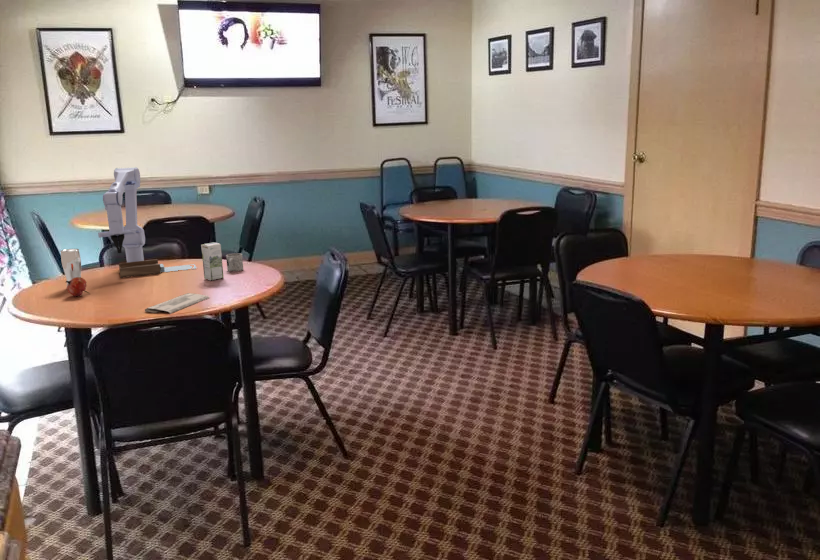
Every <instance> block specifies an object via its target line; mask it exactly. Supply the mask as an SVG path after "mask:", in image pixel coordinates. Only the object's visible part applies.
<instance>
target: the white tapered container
mask: <svg viewBox="0 0 820 560" xmlns="http://www.w3.org/2000/svg"><path fill="white" fill-rule="evenodd" d="M60 258H61V259H60V260H61V261H60V262H61V265H62V268H63V272H64V275H65V277H66V278H65V279H66V281H70V280H72V279H73V278H75V277H81V278H82V259H81V253H80V249H79V248H69V249H63V250H60ZM67 285H68V283H67V282H66V286H67Z"/></svg>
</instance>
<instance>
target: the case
mask: <svg viewBox="0 0 820 560" xmlns="http://www.w3.org/2000/svg"><path fill="white" fill-rule="evenodd" d="M158 260H159V259H157V258H156V259H147V260H145V259H144V261H136V262H127V261H126V262H120V263H118V268H119V275H120V279H122V278H123V277H125V278H131V276H133V277H141V276H140V275H142V276H149V274H151V275H159V274H158V273H160V274H162V273H161V271H160V264H161V263H159V261H158ZM123 279H124V278H123Z"/></svg>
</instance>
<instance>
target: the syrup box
mask: <svg viewBox="0 0 820 560" xmlns="http://www.w3.org/2000/svg"><path fill="white" fill-rule="evenodd" d="M200 247H201V256H202V257H201V258H202V267H203V277H204V280H206V279H208V280H207V281H211V280H212V281H217V280H216V279H218V280H221V278H223V279H224V268H223V267H224V266H223V254H222V244H221V243H218V242H209V243H204V244H200Z"/></svg>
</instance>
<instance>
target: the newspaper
mask: <svg viewBox="0 0 820 560" xmlns="http://www.w3.org/2000/svg"><path fill="white" fill-rule="evenodd" d="M209 297H210V296H209V295H205V294H200V293H190V292H189V293H185V294H181V295H179V296H176V297H174V298H171V299H169V300H165V301H163V302H161V303H157V304H155V305H152V306H149V307H146V308H145V309H144V312H146V313H148V312H150V313H154V314H155V313H157V314H158V313H159V312H161V311H164V312H168V313H169V314H170V315H171V314H174V313H175V312H178V311H182V310H184V309H185V308H188V307H191V306H193V305H196V304H198V302H199V303H200V301H201V302H203V300H204V301H206V300H208V299H210V298H209ZM207 298H208V299H207ZM205 299H206V300H205Z"/></svg>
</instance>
